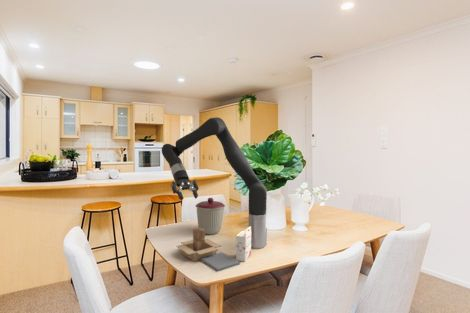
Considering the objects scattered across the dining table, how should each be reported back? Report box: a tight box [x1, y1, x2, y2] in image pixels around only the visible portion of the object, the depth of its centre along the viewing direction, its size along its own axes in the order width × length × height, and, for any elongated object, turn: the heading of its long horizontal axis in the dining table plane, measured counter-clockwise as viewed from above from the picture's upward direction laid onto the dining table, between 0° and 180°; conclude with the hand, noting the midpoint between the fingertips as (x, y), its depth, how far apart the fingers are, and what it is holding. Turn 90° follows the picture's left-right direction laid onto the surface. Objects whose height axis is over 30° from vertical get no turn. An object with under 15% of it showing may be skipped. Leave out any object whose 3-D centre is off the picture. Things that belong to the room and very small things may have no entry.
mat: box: [199, 251, 241, 272], centre depth 124 cm, size 12×14×1 cm
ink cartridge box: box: [235, 226, 252, 263], centre depth 130 cm, size 9×5×15 cm, turn 158°
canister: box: [195, 197, 226, 235], centre depth 167 cm, size 18×18×21 cm
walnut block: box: [192, 227, 206, 251], centre depth 133 cm, size 4×4×12 cm
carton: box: [176, 238, 222, 262], centre depth 133 cm, size 18×18×4 cm
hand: (189, 198), depth 141 cm, fingers open, 8 cm apart
